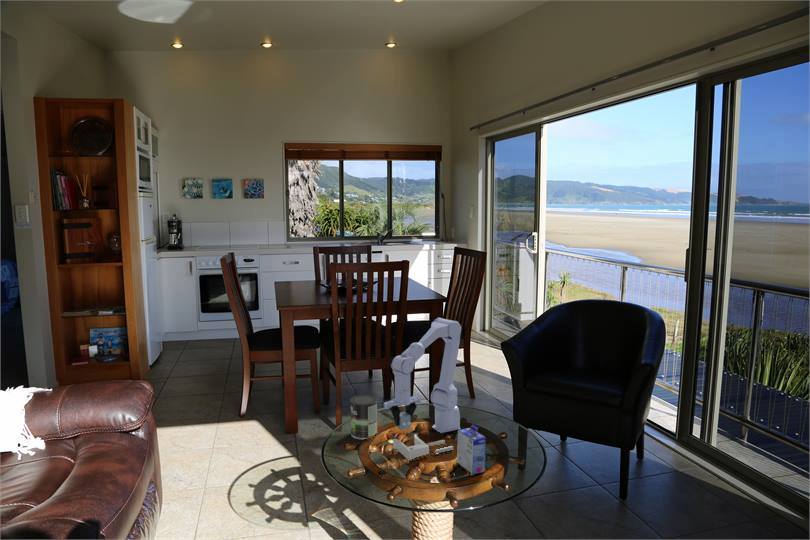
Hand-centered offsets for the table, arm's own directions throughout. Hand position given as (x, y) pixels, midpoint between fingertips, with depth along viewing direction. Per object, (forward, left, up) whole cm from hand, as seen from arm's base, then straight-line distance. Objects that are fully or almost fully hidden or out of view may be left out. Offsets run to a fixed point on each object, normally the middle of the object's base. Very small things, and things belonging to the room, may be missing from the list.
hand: (403, 424), depth 211 cm
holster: (-10, +10, -8) cm, 16 cm away
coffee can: (+9, -16, -9) cm, 20 cm away
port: (0, +7, -8) cm, 11 cm away
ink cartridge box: (-13, +26, -9) cm, 30 cm away
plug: (0, 0, -1) cm, 1 cm away
